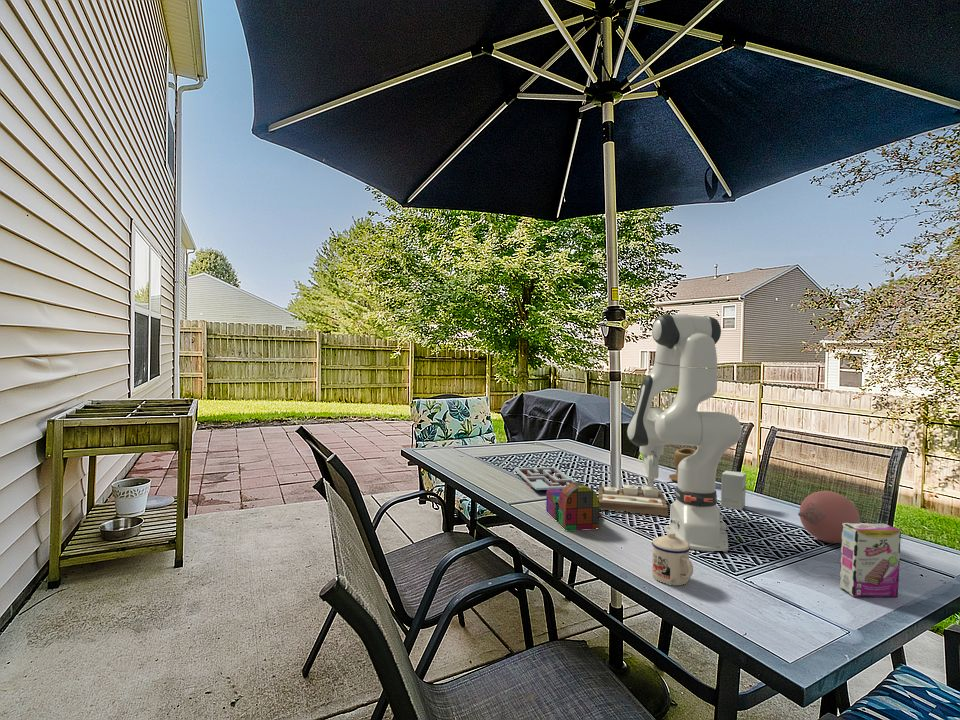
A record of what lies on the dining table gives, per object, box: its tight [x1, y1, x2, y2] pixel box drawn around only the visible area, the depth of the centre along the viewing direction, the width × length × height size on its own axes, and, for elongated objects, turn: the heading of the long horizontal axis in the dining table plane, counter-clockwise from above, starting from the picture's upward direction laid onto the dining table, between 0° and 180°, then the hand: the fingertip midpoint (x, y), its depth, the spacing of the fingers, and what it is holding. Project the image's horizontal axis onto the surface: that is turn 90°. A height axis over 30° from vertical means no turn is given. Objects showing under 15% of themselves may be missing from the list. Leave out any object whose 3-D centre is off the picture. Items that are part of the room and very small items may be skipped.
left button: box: [603, 486, 618, 494], centre depth 197 cm, size 5×5×3 cm
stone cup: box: [668, 447, 697, 483], centre depth 226 cm, size 15×12×15 cm
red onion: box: [797, 490, 861, 544], centre depth 154 cm, size 15×20×15 cm
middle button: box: [623, 484, 639, 496], centre depth 195 cm, size 5×5×3 cm
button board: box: [597, 486, 669, 517], centre depth 190 cm, size 22×24×4 cm
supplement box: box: [720, 470, 747, 511], centre depth 190 cm, size 7×7×13 cm
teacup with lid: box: [651, 532, 694, 586], centre depth 126 cm, size 12×9×12 cm
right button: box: [643, 485, 659, 497], centre depth 193 cm, size 5×5×3 cm
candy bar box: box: [839, 522, 902, 598], centre depth 121 cm, size 11×5×16 cm, turn 92°
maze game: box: [514, 466, 577, 491], centre depth 220 cm, size 35×20×3 cm, turn 10°
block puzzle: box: [545, 481, 603, 531], centre depth 174 cm, size 25×17×14 cm
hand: (650, 484), depth 193 cm, fingers closed
